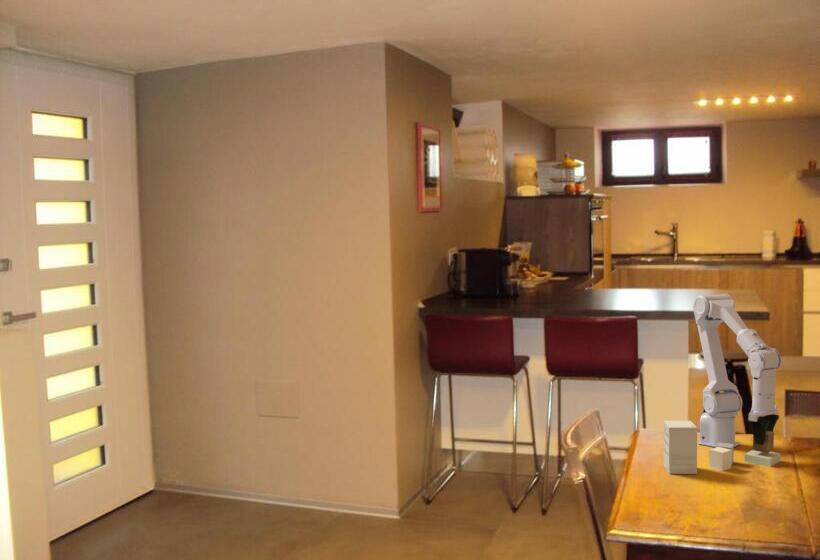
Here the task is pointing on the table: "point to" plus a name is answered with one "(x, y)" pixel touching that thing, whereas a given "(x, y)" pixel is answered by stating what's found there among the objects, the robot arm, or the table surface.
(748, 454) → the sage slab
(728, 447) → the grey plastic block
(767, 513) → the table surface
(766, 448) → the walnut block
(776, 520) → the table surface
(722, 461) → the cream block
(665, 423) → the supplement box
